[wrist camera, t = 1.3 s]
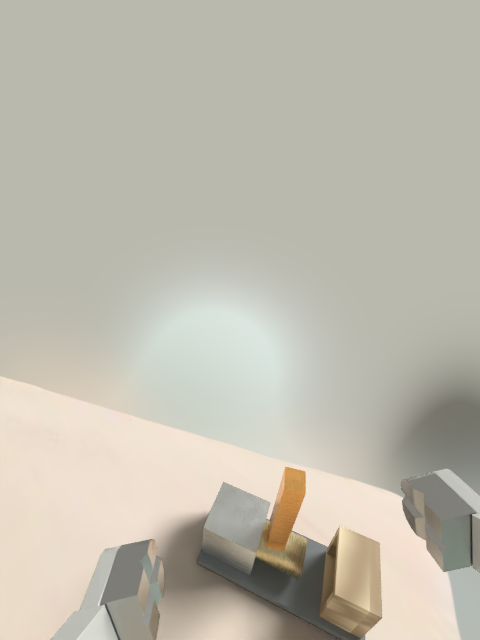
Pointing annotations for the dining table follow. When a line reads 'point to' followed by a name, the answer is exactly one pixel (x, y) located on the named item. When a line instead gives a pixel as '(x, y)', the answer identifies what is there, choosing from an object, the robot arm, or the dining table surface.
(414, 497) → the robot arm
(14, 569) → the dining table surface
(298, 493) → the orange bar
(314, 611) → the slate board
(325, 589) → the socket block
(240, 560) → the matte gray cube
